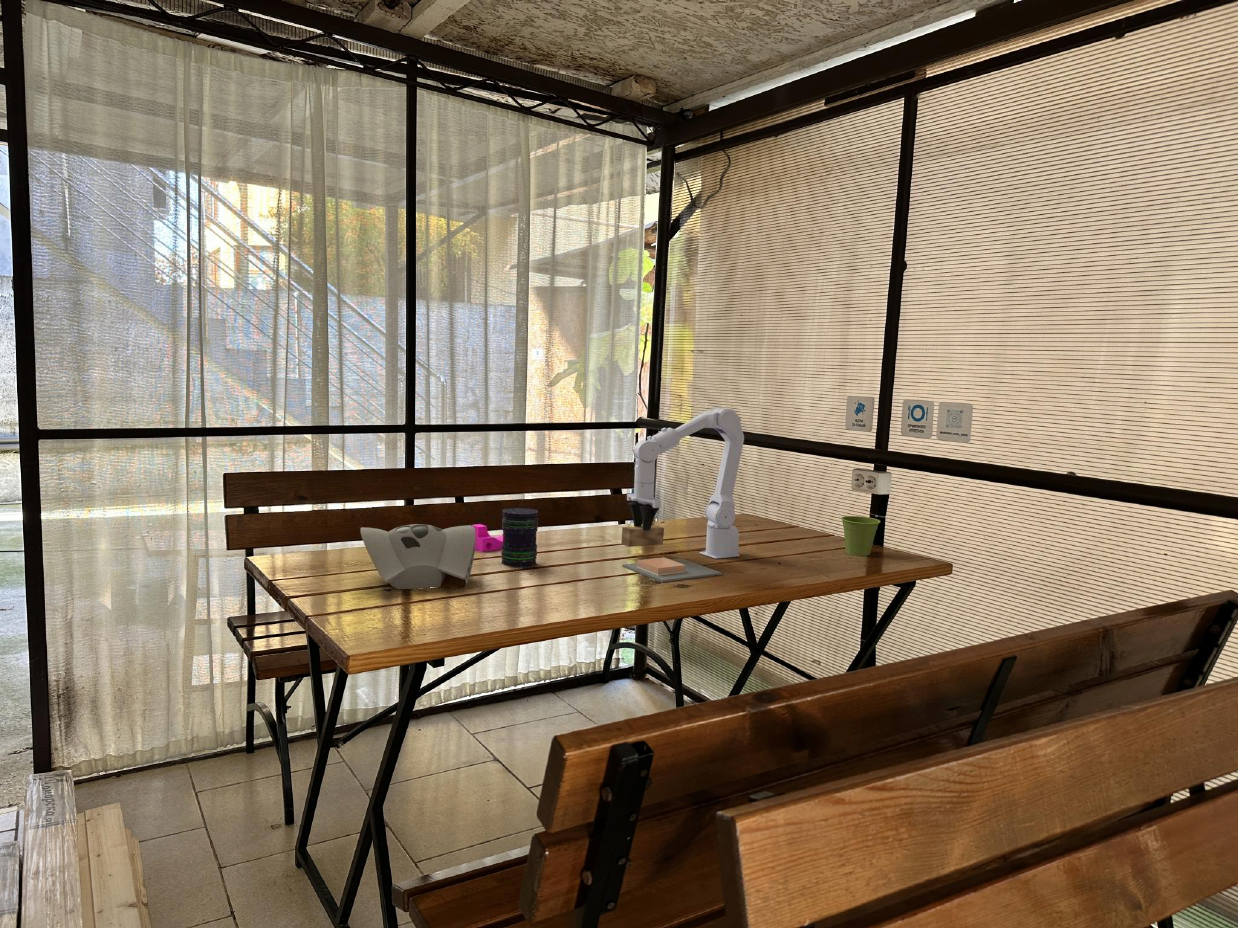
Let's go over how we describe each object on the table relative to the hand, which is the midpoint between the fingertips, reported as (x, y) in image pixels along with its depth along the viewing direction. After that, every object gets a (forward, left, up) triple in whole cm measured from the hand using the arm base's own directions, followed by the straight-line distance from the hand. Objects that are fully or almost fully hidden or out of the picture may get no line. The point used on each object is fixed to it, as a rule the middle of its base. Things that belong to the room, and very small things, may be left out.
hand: (642, 528), depth 250 cm
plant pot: (-66, +23, -9) cm, 70 cm away
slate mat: (+1, +17, -9) cm, 19 cm away
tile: (0, +17, -7) cm, 18 cm away
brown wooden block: (0, 0, -5) cm, 5 cm away
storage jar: (+36, -7, -9) cm, 38 cm away
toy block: (+33, -27, -9) cm, 43 cm away
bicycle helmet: (+67, -1, -10) cm, 68 cm away
